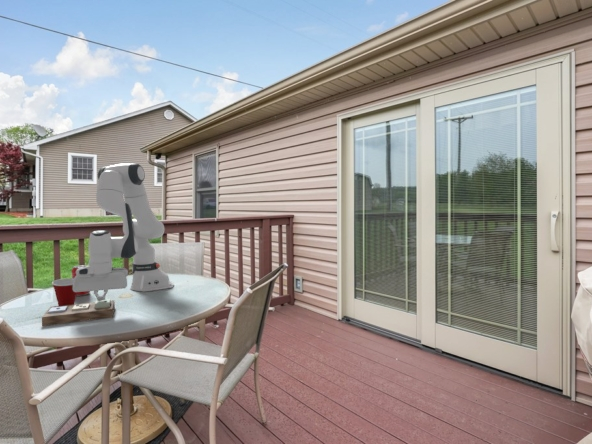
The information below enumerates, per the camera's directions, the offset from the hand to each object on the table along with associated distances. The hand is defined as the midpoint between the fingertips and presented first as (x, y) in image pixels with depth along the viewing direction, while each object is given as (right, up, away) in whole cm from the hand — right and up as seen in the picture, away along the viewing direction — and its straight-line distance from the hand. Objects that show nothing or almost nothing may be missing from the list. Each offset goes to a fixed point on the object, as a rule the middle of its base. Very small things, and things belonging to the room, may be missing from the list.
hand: (101, 300), depth 143 cm
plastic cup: (-22, -6, +10) cm, 25 cm away
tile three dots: (-7, -5, -3) cm, 9 cm away
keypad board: (-7, -6, -3) cm, 10 cm away
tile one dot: (-14, -5, -6) cm, 16 cm away
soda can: (-28, -4, +29) cm, 41 cm away
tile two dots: (0, -4, +1) cm, 4 cm away
